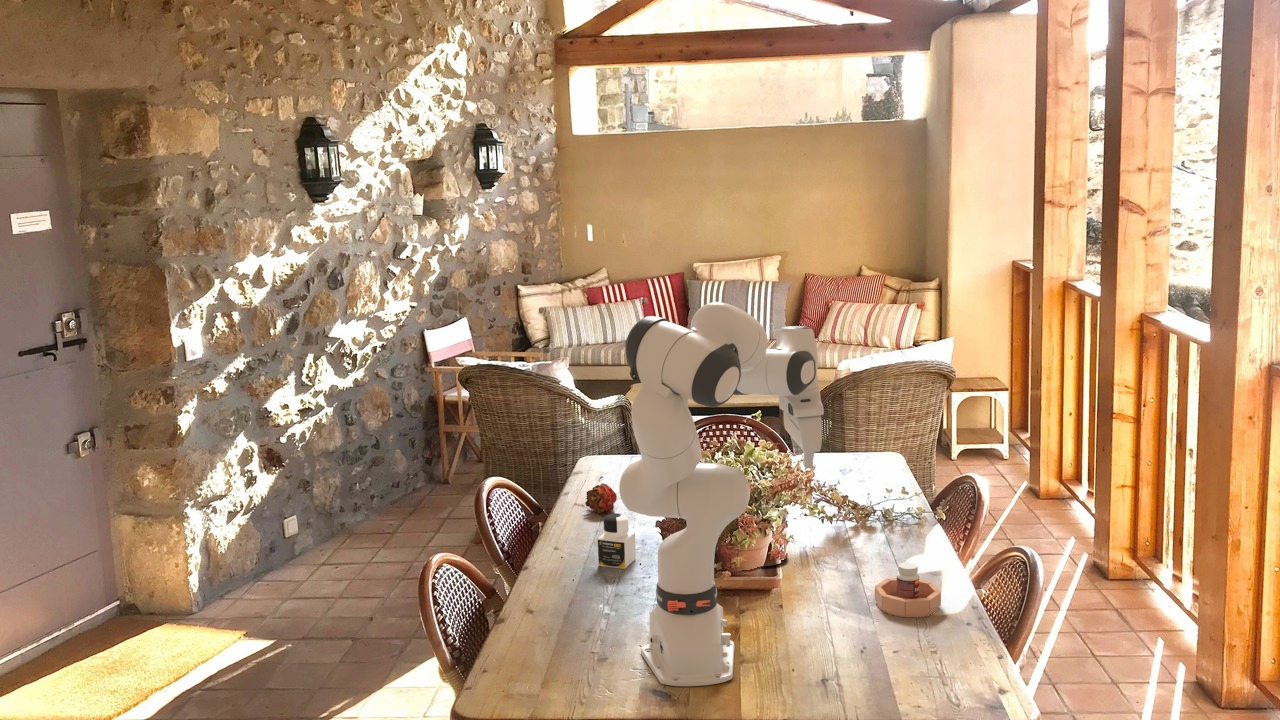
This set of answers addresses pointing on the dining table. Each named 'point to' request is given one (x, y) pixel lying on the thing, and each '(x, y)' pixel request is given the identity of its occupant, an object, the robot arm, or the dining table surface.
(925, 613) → the bowl
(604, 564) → the medicine bottle
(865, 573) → the dining table surface
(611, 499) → the dragon fruit
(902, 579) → the pill bottle
